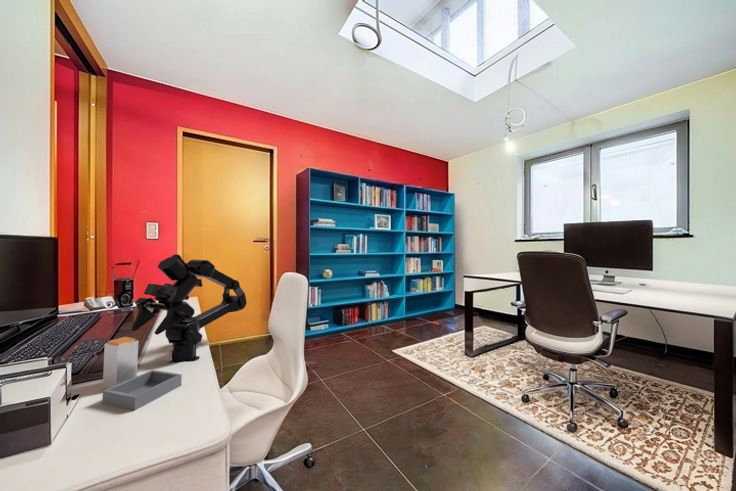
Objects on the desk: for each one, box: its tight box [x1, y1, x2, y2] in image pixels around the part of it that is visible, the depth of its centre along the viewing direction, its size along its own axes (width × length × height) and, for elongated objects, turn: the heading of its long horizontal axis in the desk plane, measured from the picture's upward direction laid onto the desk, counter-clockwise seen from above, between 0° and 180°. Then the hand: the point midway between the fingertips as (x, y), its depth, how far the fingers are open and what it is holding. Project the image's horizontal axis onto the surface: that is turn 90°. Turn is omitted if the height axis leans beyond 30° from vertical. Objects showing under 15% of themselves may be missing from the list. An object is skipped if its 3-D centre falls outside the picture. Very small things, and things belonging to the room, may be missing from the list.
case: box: [101, 369, 183, 411], centre depth 70 cm, size 12×10×4 cm
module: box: [102, 336, 139, 389], centre depth 74 cm, size 5×5×13 cm
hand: (144, 332), depth 80 cm, fingers open, 9 cm apart
